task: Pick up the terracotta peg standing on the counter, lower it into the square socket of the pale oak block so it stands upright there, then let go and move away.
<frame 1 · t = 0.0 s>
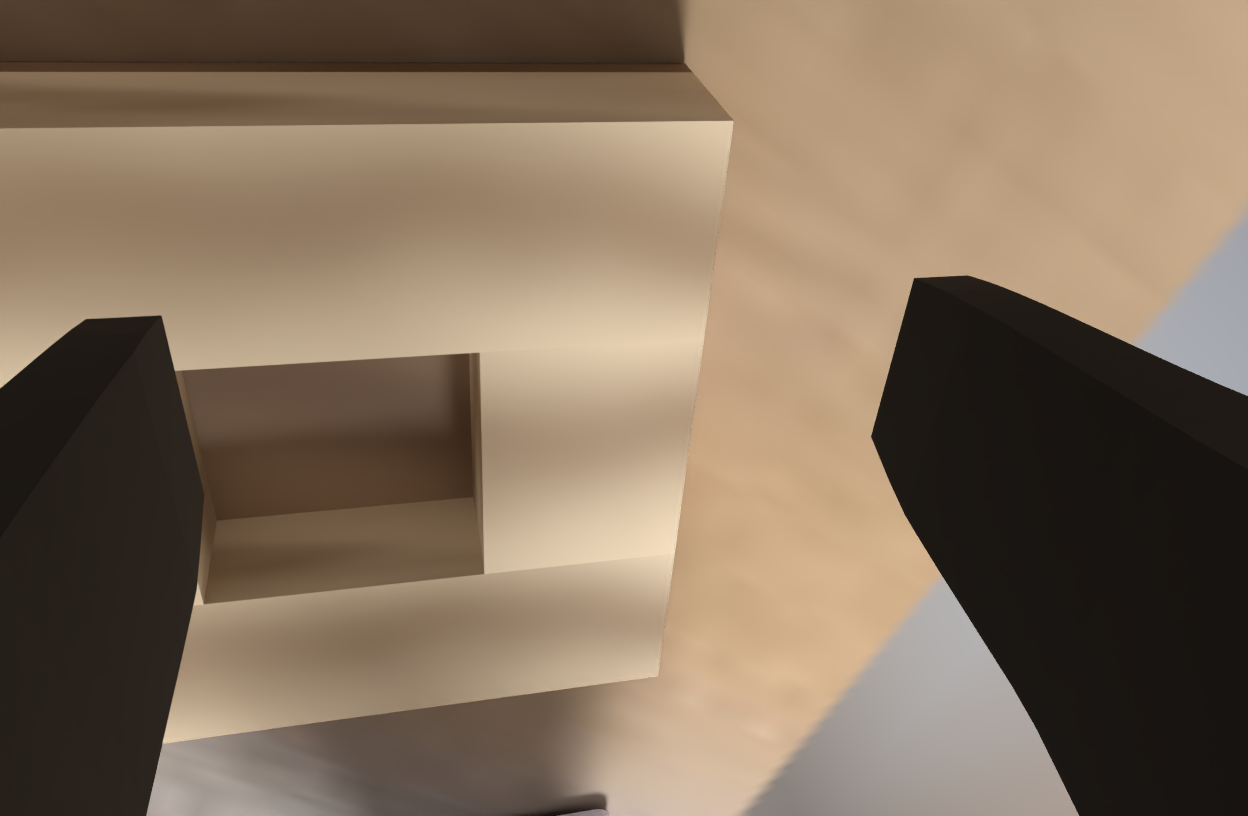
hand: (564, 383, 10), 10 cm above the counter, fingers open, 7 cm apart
oak socket block: (336, 394, 21), on the counter
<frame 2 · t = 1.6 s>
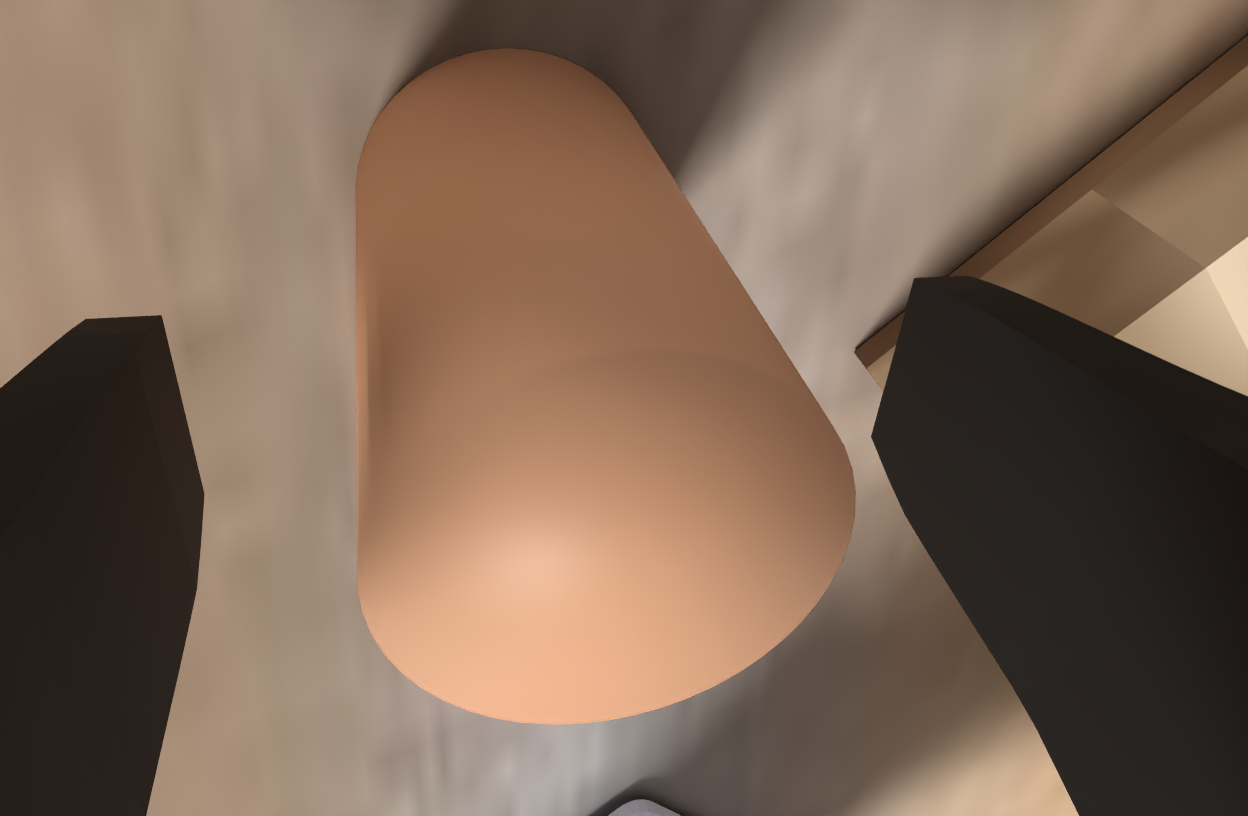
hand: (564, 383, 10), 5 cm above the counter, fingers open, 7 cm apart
terracotta peg: (508, 199, 13), on the counter
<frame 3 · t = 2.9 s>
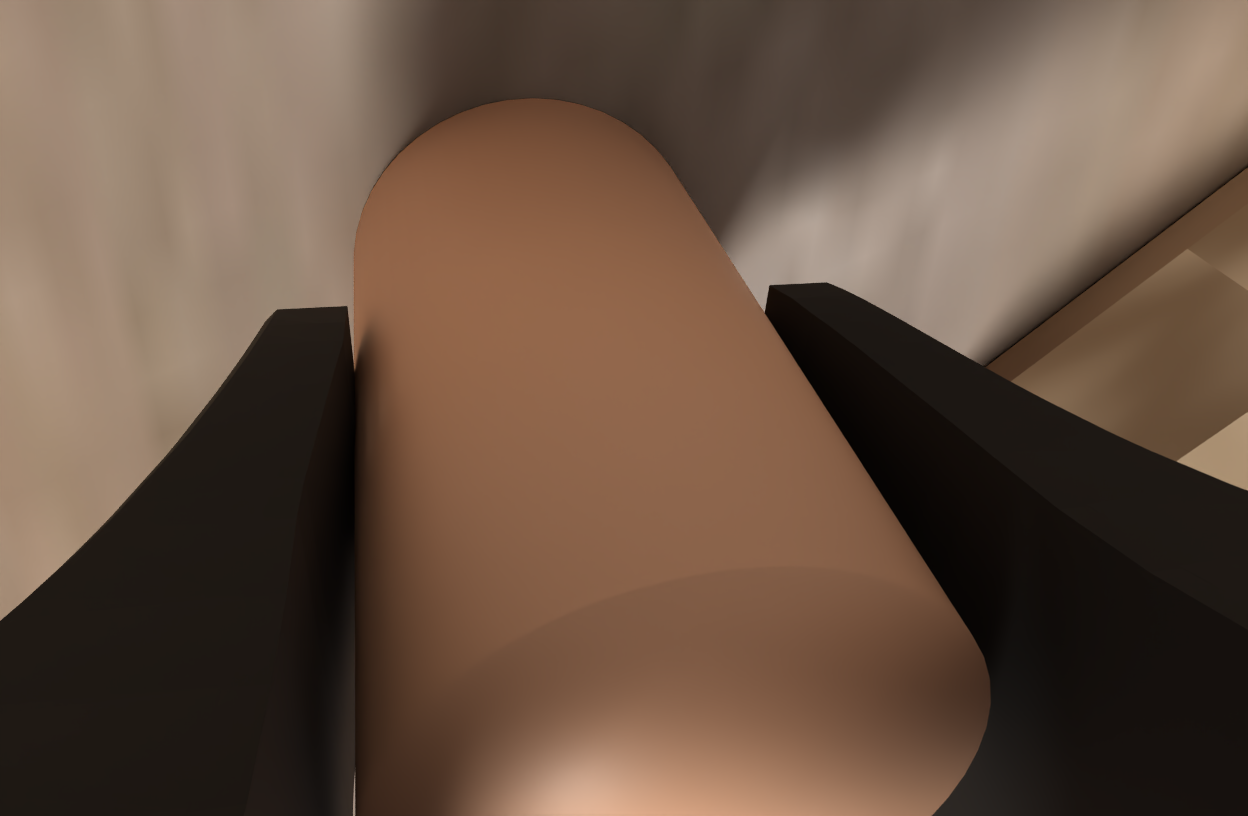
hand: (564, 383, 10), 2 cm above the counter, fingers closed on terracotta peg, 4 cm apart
terracotta peg: (529, 266, 12), on the counter, touching gripper
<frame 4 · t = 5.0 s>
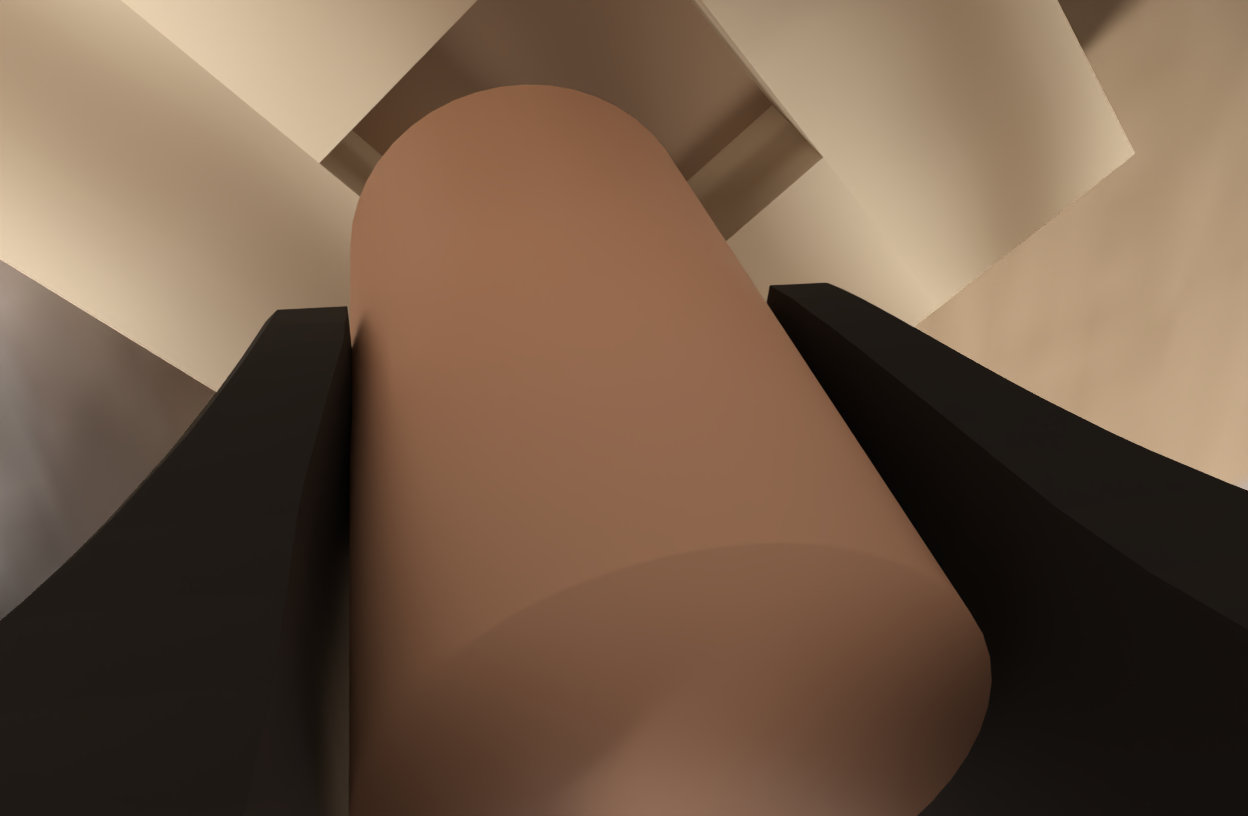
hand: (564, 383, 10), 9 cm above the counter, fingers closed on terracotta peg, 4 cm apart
oak socket block: (554, 95, 18), on the counter
terracotta peg: (527, 255, 12), point 7 cm above the counter, touching gripper
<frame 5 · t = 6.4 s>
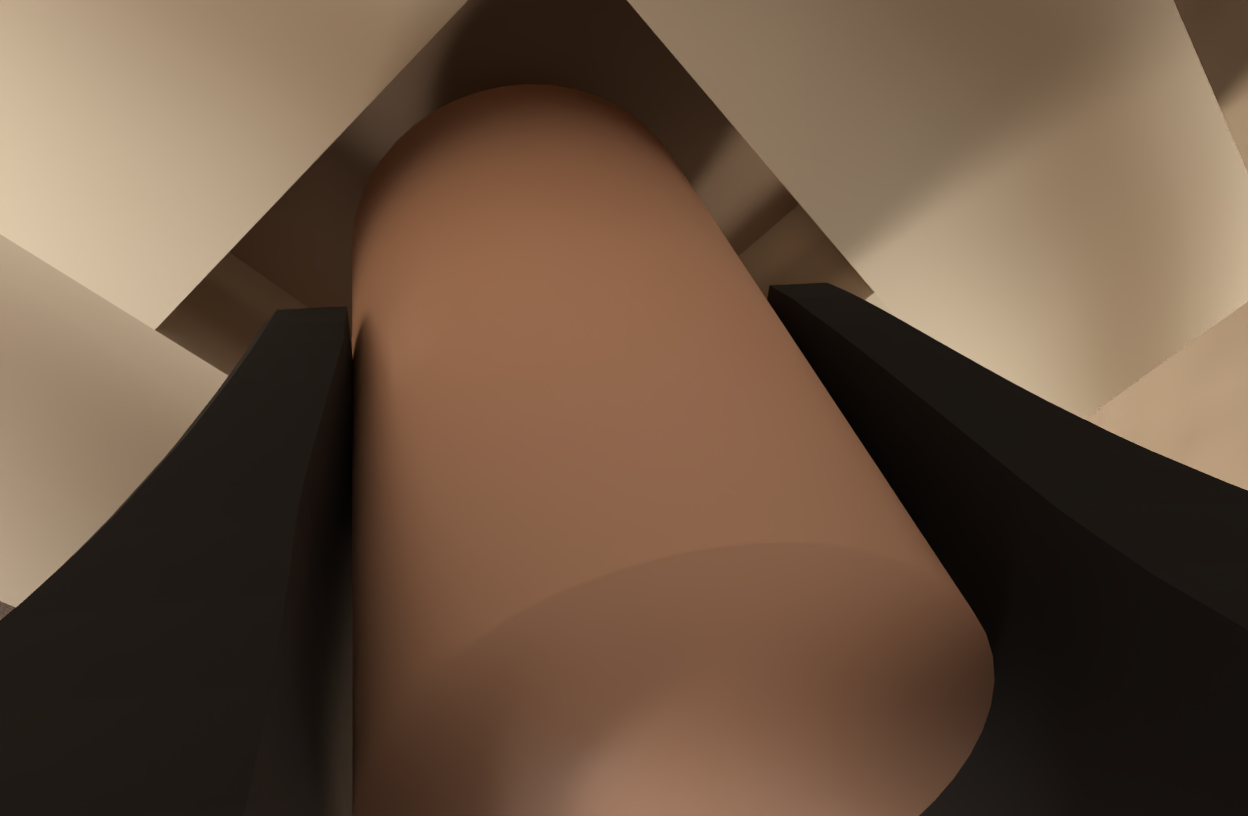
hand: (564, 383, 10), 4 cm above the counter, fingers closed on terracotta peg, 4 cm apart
oak socket block: (508, 196, 13), on the counter
terracotta peg: (529, 254, 12), point 2 cm above the counter, touching gripper
when the fingers open (4 cm above the counter, at t = 7.2 s): terracotta peg drops 1 cm, resting on oak socket block.
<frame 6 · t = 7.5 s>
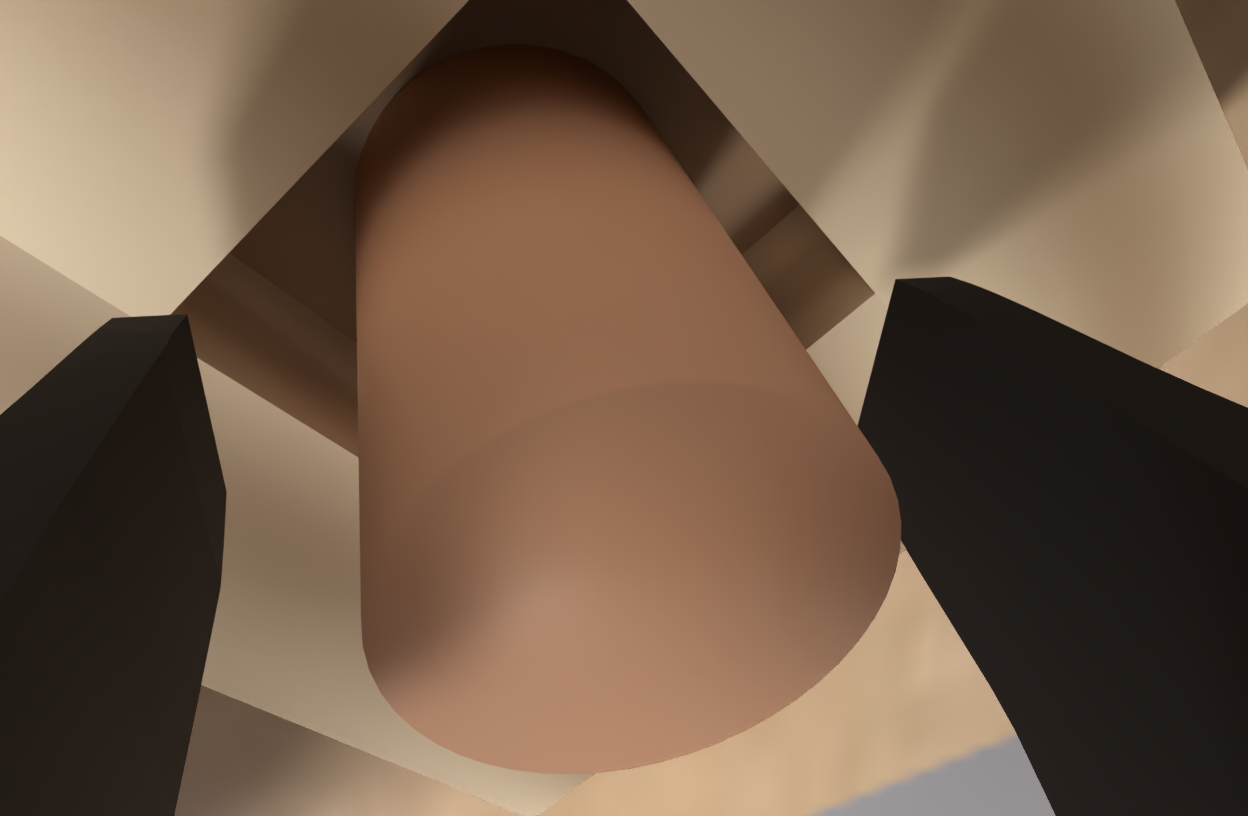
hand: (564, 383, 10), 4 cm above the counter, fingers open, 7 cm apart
oak socket block: (509, 196, 13), on the counter
terracotta peg: (515, 203, 13), point 1 cm above the counter, touching oak socket block
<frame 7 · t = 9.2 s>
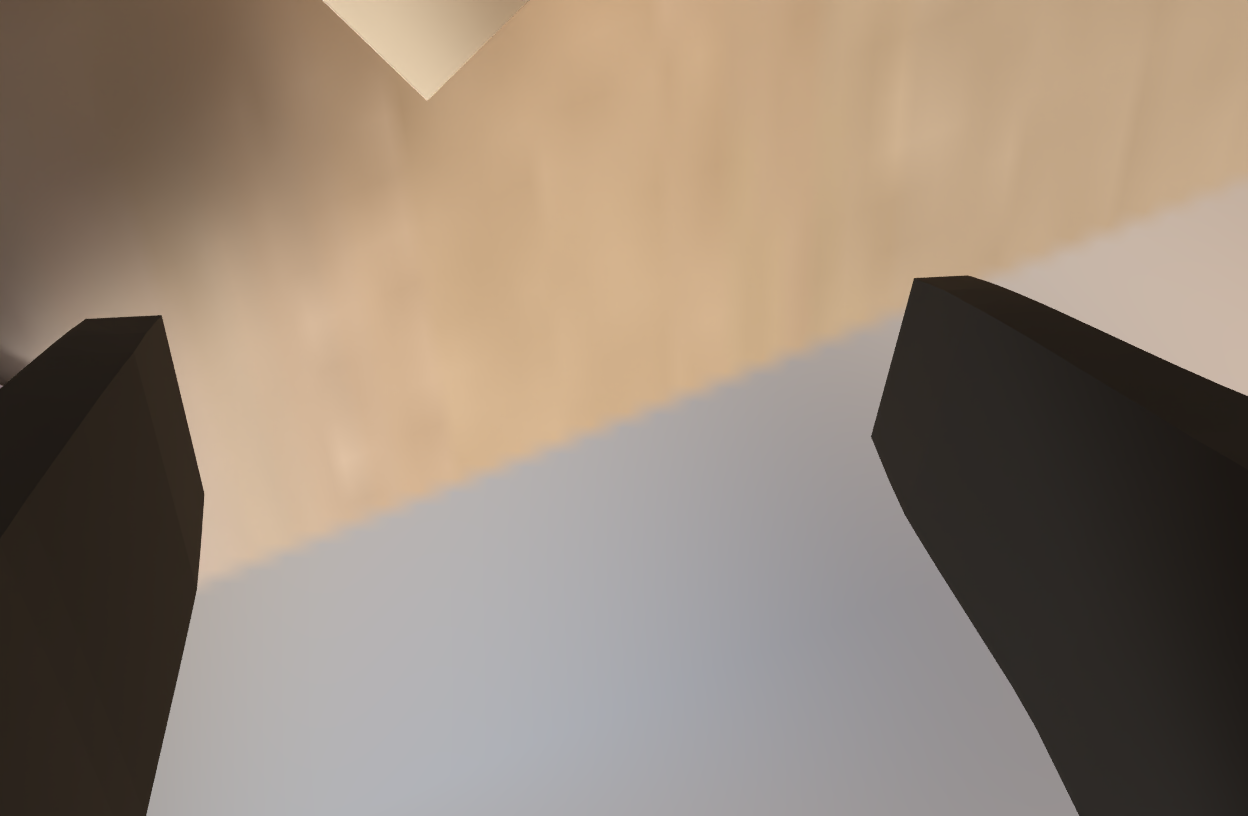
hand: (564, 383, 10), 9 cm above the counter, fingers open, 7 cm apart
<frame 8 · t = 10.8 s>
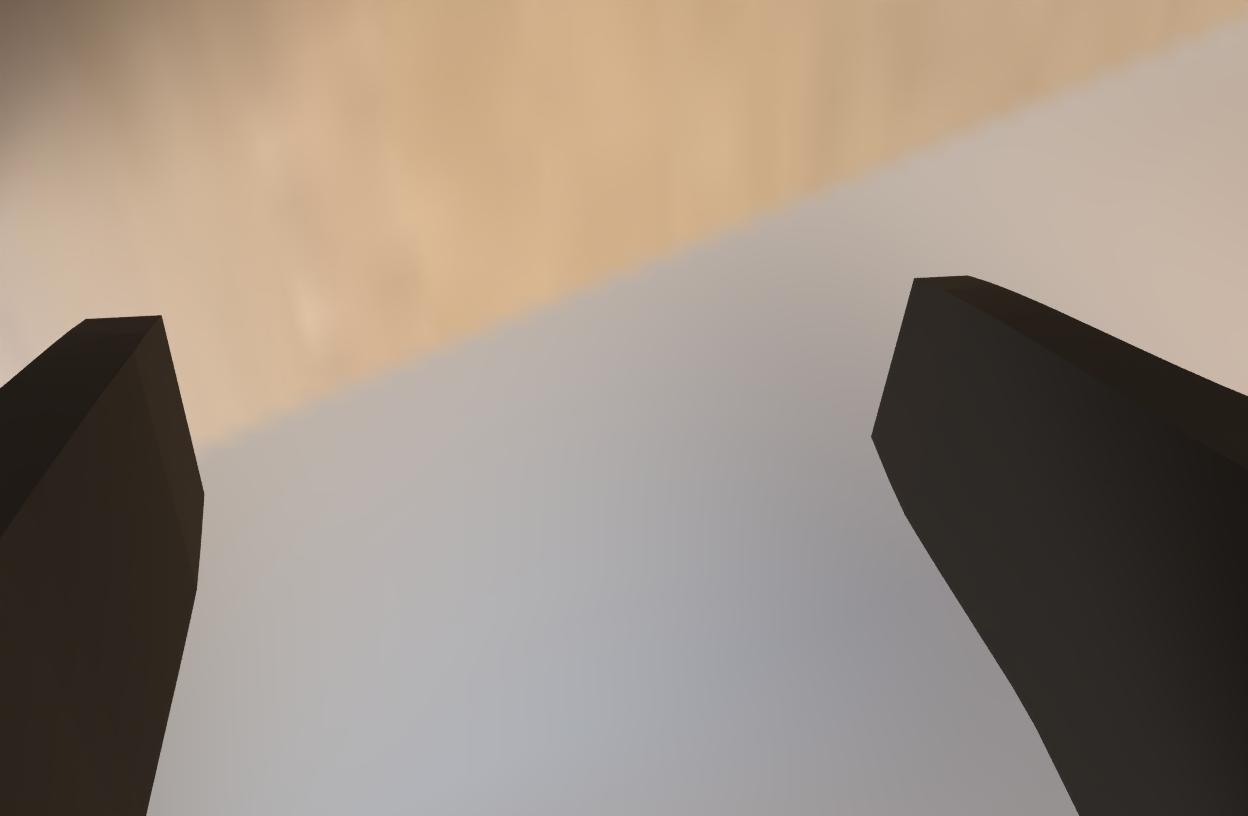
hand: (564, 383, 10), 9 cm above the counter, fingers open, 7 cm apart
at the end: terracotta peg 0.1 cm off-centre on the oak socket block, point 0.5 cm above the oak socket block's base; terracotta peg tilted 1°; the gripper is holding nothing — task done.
